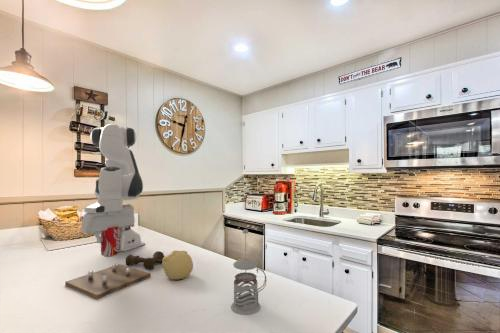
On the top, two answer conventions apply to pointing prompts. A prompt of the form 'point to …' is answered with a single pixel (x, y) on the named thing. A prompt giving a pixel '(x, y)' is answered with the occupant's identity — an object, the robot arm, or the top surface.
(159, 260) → the kendama
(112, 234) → the soda can
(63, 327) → the top surface
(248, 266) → the french press
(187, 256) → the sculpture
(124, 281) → the peg board
